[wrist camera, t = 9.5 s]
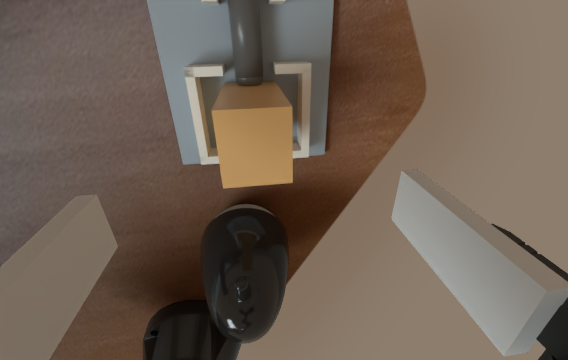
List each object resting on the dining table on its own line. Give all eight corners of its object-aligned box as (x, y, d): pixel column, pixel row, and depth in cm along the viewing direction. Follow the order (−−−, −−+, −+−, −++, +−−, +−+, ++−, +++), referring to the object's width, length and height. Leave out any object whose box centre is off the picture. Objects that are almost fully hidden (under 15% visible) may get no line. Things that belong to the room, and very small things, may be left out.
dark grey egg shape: (283, 187, 33) (309, 287, 20) (283, 249, 38) (304, 363, 25) (200, 192, 32) (168, 302, 19) (211, 256, 37) (192, 379, 24)
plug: (276, 134, 29) (292, 182, 19) (230, 137, 28) (223, 188, 19) (270, -50, 21) (291, -121, 12) (207, -51, 21) (176, -126, 11)
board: (322, 152, 31) (330, 163, 29) (184, 161, 30) (178, 174, 27) (334, -56, 22) (347, -70, 19) (136, -60, 21) (119, -75, 18)
